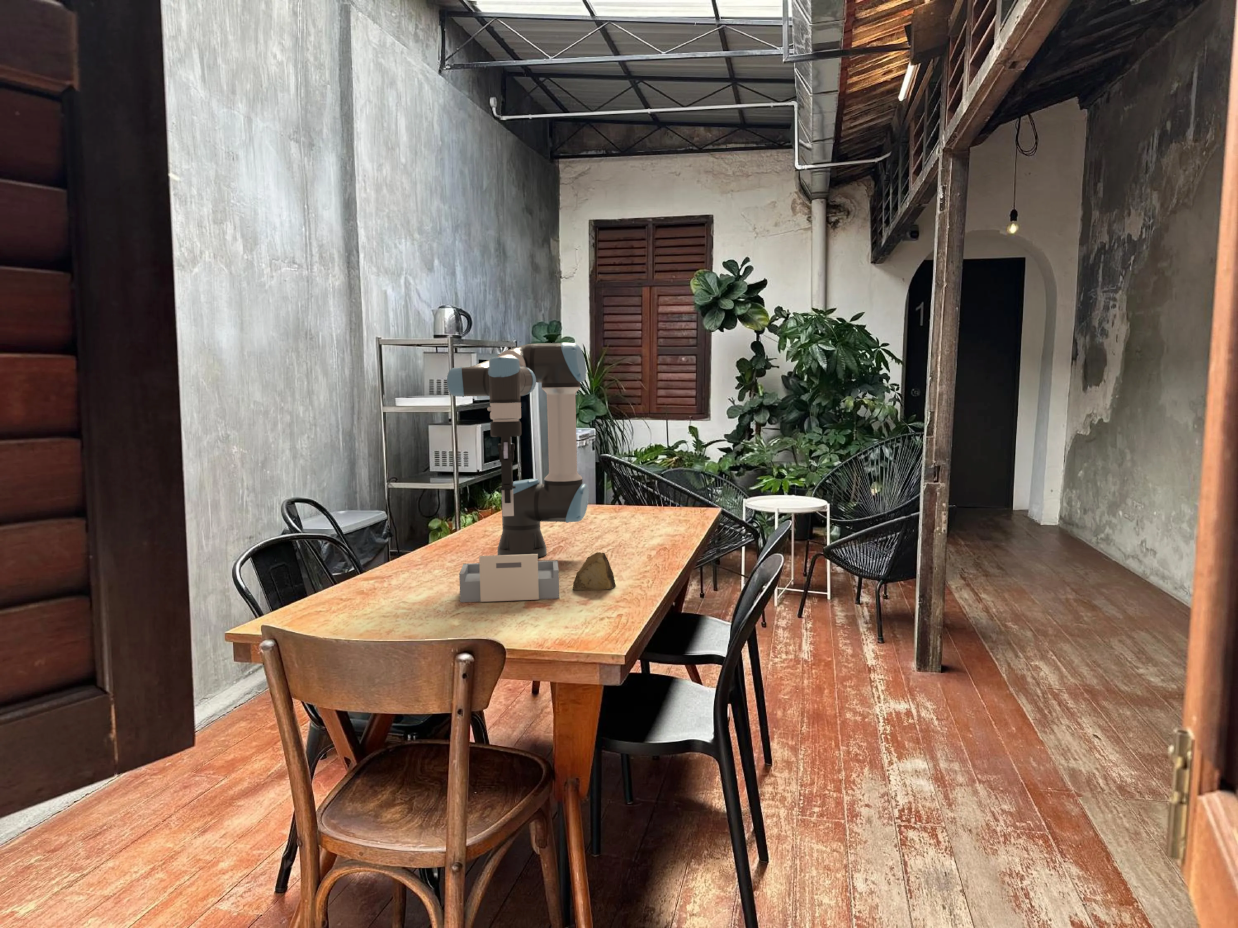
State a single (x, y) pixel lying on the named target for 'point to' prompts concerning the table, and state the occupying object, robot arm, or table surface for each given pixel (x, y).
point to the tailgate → (509, 577)
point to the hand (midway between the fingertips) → (508, 515)
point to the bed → (546, 581)
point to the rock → (595, 574)
